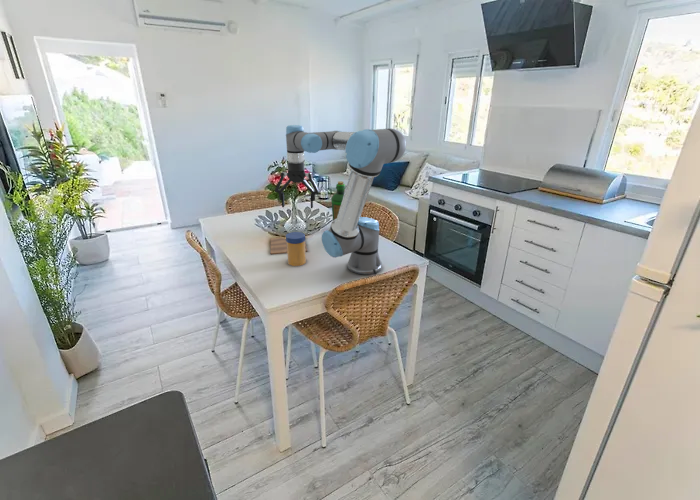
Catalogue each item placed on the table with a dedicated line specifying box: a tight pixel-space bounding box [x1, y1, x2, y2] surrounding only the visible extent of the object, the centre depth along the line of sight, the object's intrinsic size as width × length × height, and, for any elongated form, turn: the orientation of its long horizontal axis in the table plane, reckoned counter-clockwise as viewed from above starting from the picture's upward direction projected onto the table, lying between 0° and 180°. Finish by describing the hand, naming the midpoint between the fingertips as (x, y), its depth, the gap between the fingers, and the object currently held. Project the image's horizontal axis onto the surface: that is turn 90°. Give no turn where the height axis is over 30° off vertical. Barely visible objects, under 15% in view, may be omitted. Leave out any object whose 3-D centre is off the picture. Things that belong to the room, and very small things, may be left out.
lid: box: [285, 231, 306, 244], centre depth 158 cm, size 9×9×2 cm
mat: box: [270, 237, 308, 255], centre depth 181 cm, size 20×18×1 cm
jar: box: [286, 240, 307, 267], centre depth 161 cm, size 8×8×13 cm
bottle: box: [330, 181, 346, 221], centre depth 198 cm, size 11×11×28 cm
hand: (297, 207), depth 166 cm, fingers open, 13 cm apart
